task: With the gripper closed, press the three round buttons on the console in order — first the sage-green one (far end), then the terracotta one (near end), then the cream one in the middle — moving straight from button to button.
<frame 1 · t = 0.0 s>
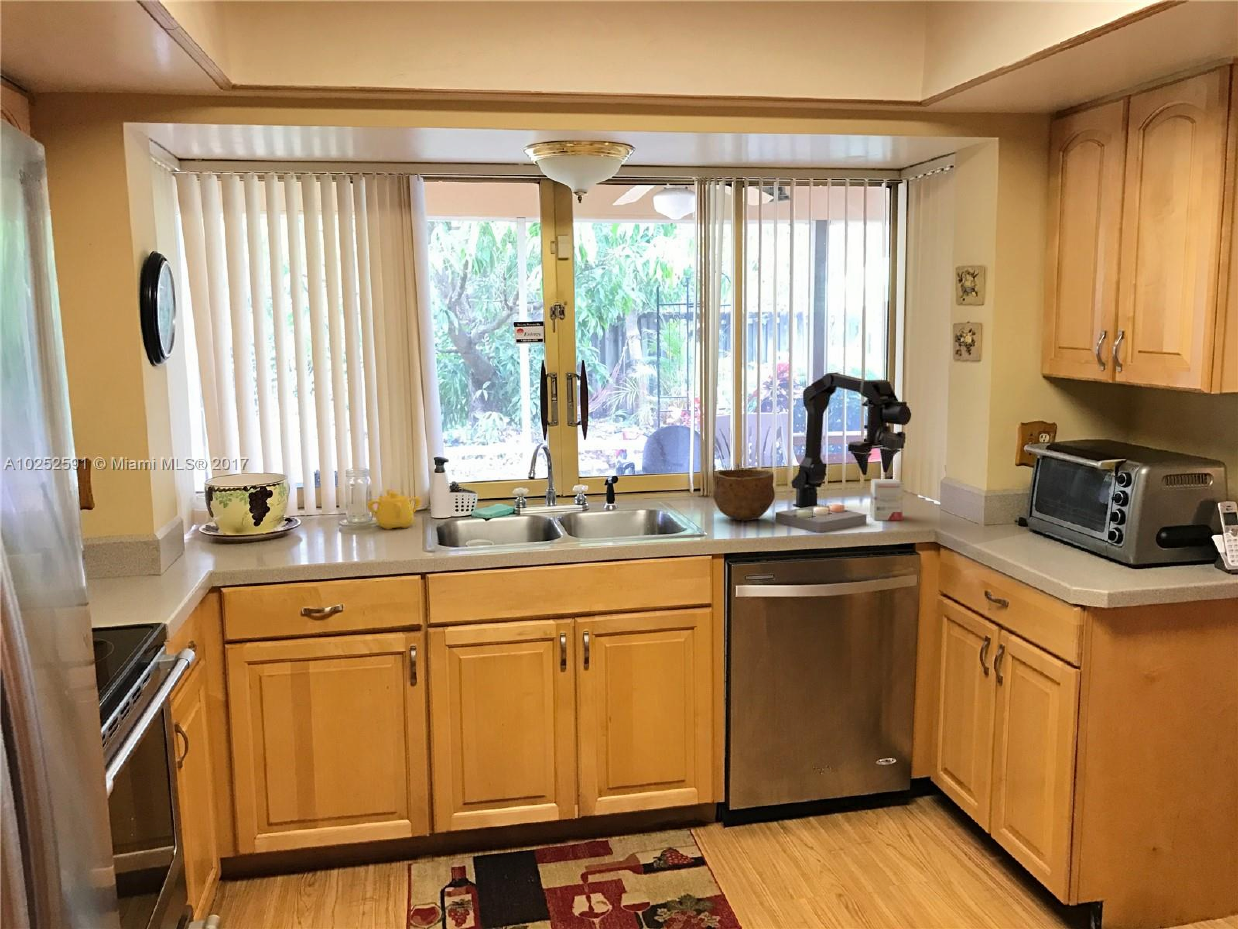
hand: (875, 473, 293), 15 cm above the countertop, fingers open, 9 cm apart
sage button: (804, 516, 289), point 3 cm above the countertop, slide at 0.0 cm
ink box: (885, 518, 300), on the countertop
cream button: (820, 513, 293), point 3 cm above the countertop, slide at 0.0 cm
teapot: (394, 526, 291), on the countertop
bowl: (742, 520, 298), on the countertop
console: (820, 523, 293), on the countertop
terracotta button: (837, 510, 297), point 3 cm above the countertop, slide at 0.0 cm
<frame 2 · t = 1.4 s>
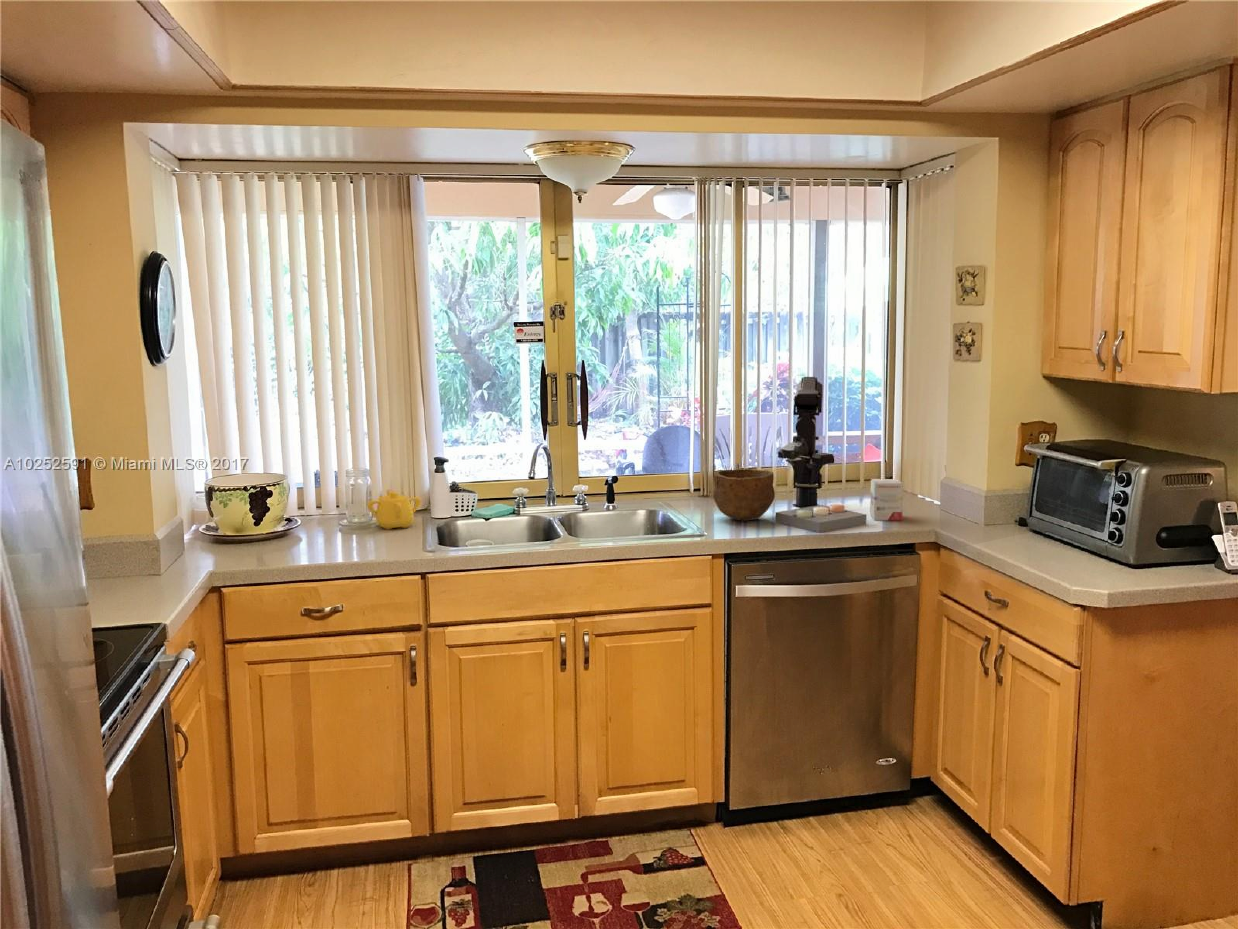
hand: (804, 483, 297), 11 cm above the countertop, fingers open, 5 cm apart
nothing on the countertop moved.
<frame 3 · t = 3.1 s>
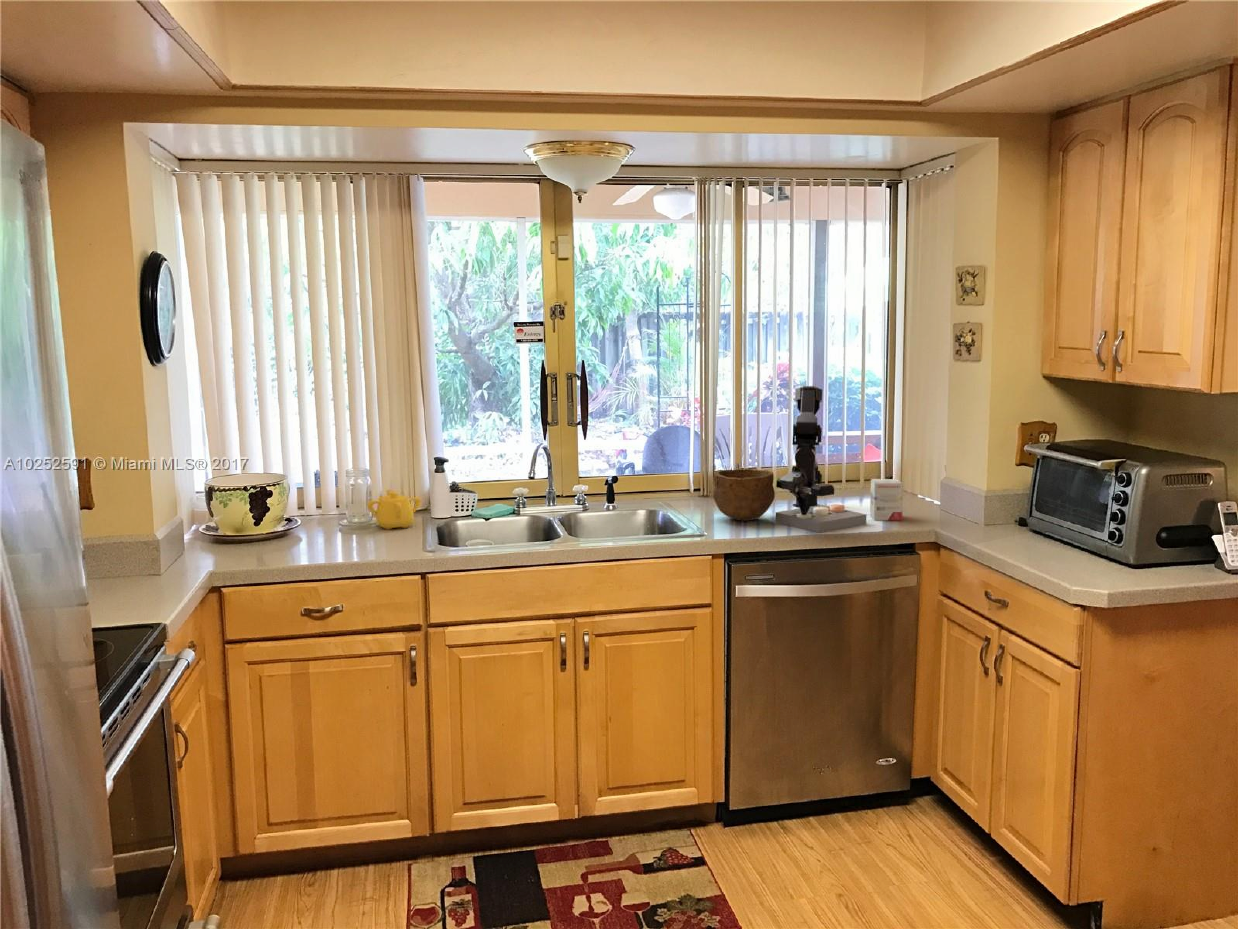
hand: (804, 514, 289), 3 cm above the countertop, fingers closed, pressing on sage button
sage button: (803, 519, 289), point 2 cm above the countertop, slide at 1.1 cm, touching gripper
everything else where it was.
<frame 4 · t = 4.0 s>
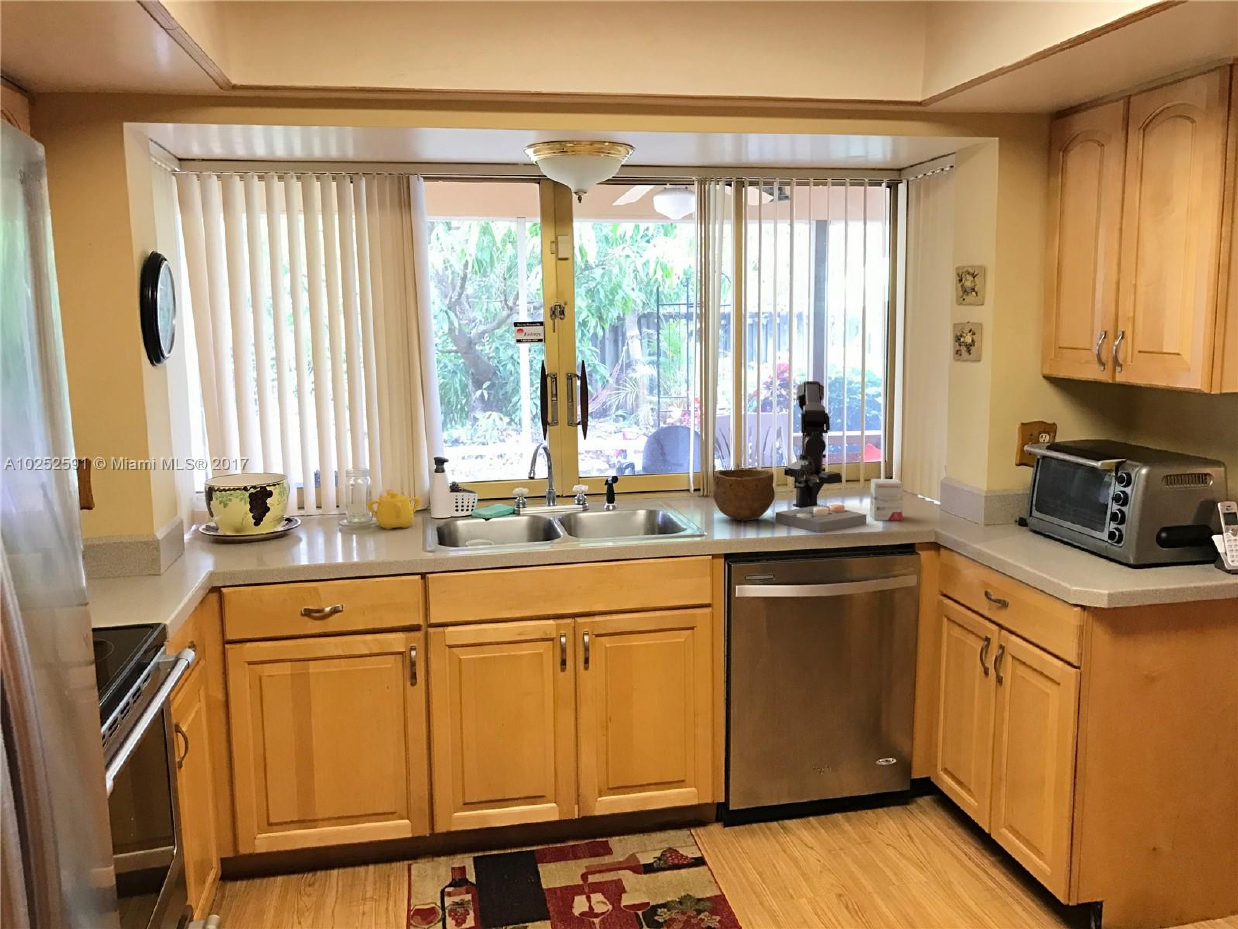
hand: (811, 502, 290), 7 cm above the countertop, fingers closed
sage button: (803, 519, 289), point 2 cm above the countertop, slide at 1.2 cm
everything else where it was.
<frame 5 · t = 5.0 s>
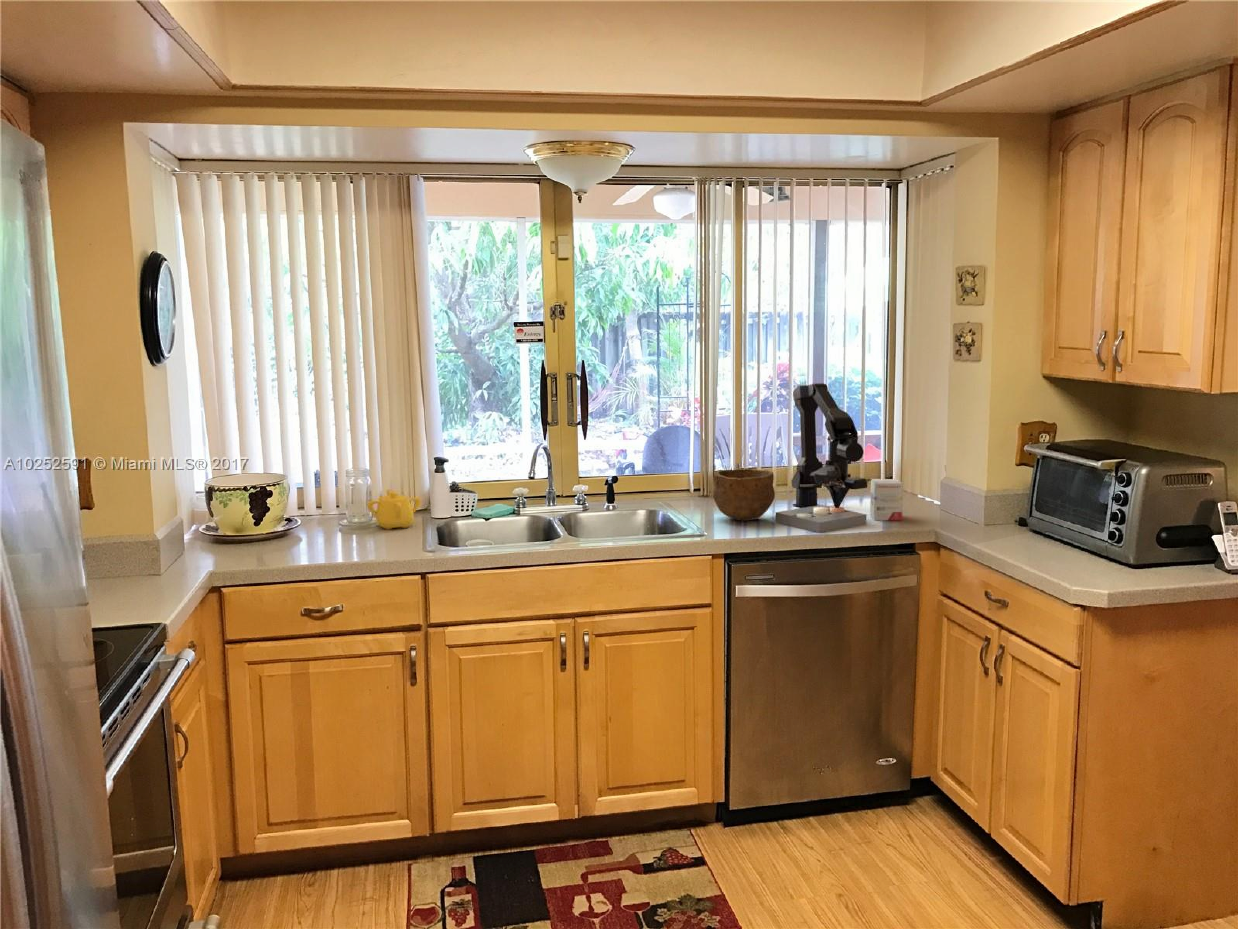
hand: (837, 507, 296), 4 cm above the countertop, fingers closed, pressing on terracotta button
terracotta button: (837, 512, 297), point 2 cm above the countertop, slide at 0.6 cm, touching gripper
everything else where it was.
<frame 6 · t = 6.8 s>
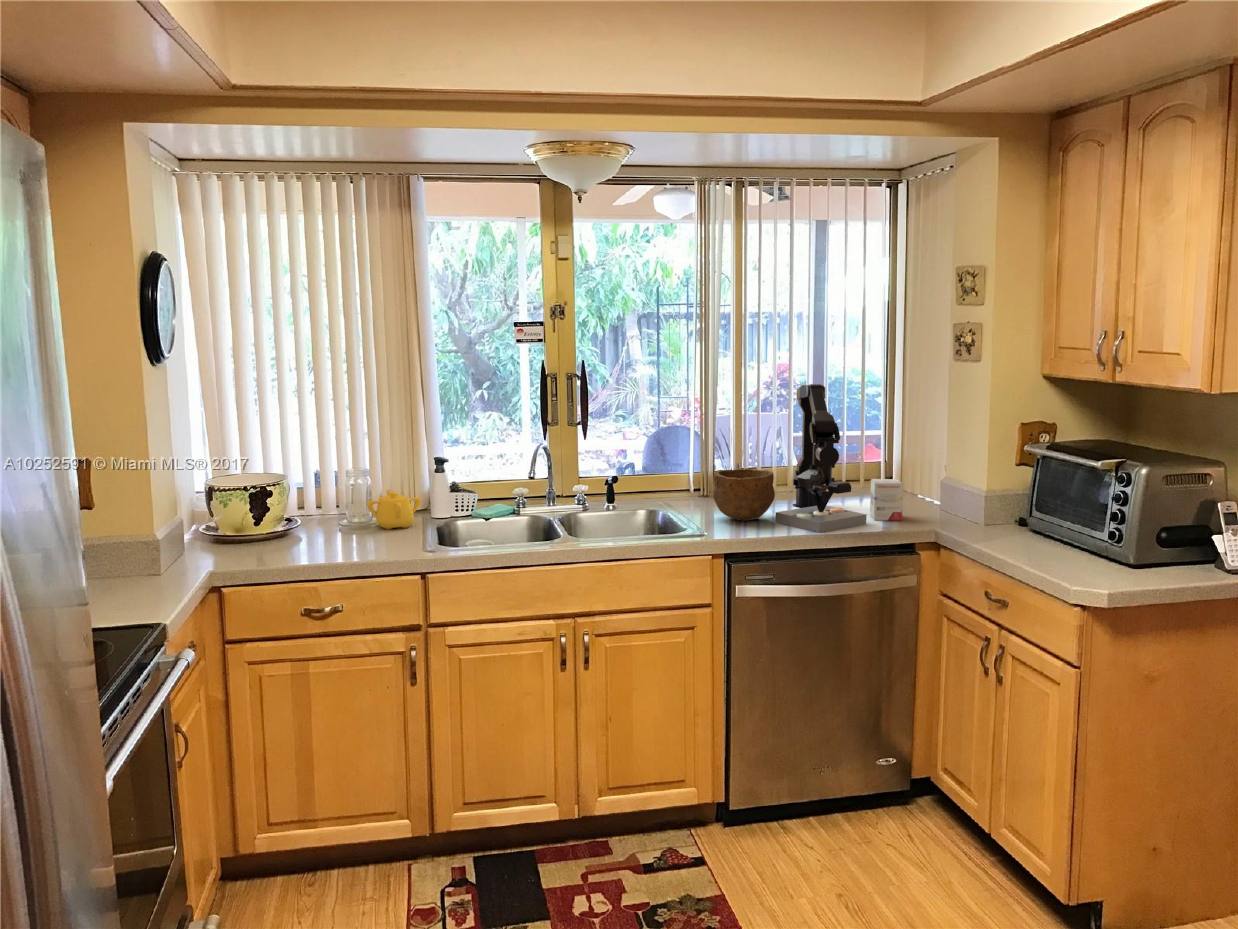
hand: (820, 512, 293), 3 cm above the countertop, fingers closed, pressing on cream button
cream button: (820, 517, 293), point 2 cm above the countertop, slide at 1.1 cm, touching gripper
terracotta button: (837, 514, 297), point 2 cm above the countertop, slide at 1.2 cm
everything else where it was.
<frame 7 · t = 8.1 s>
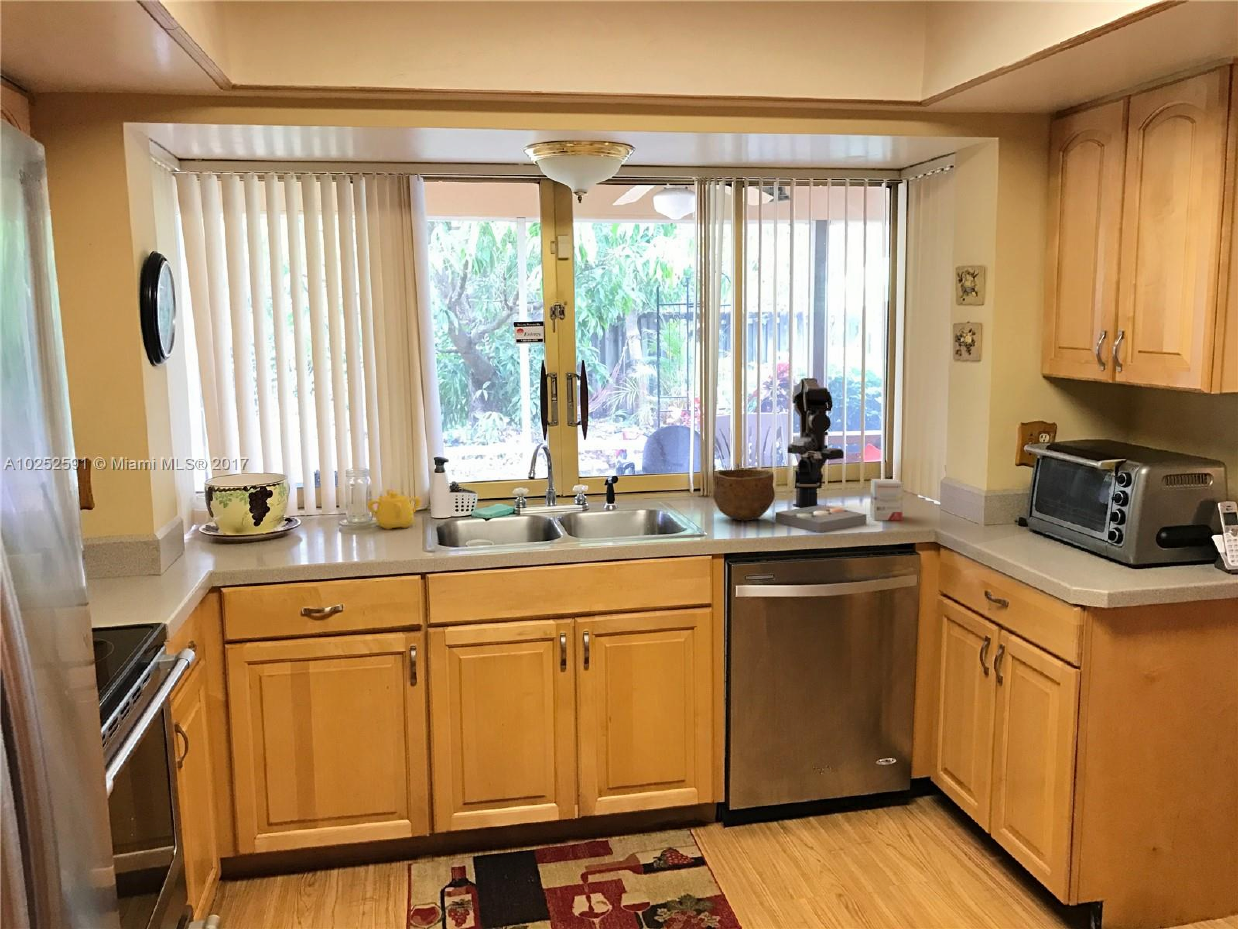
hand: (814, 478, 301), 12 cm above the countertop, fingers closed
cream button: (820, 517, 293), point 2 cm above the countertop, slide at 1.2 cm
everything else where it was.
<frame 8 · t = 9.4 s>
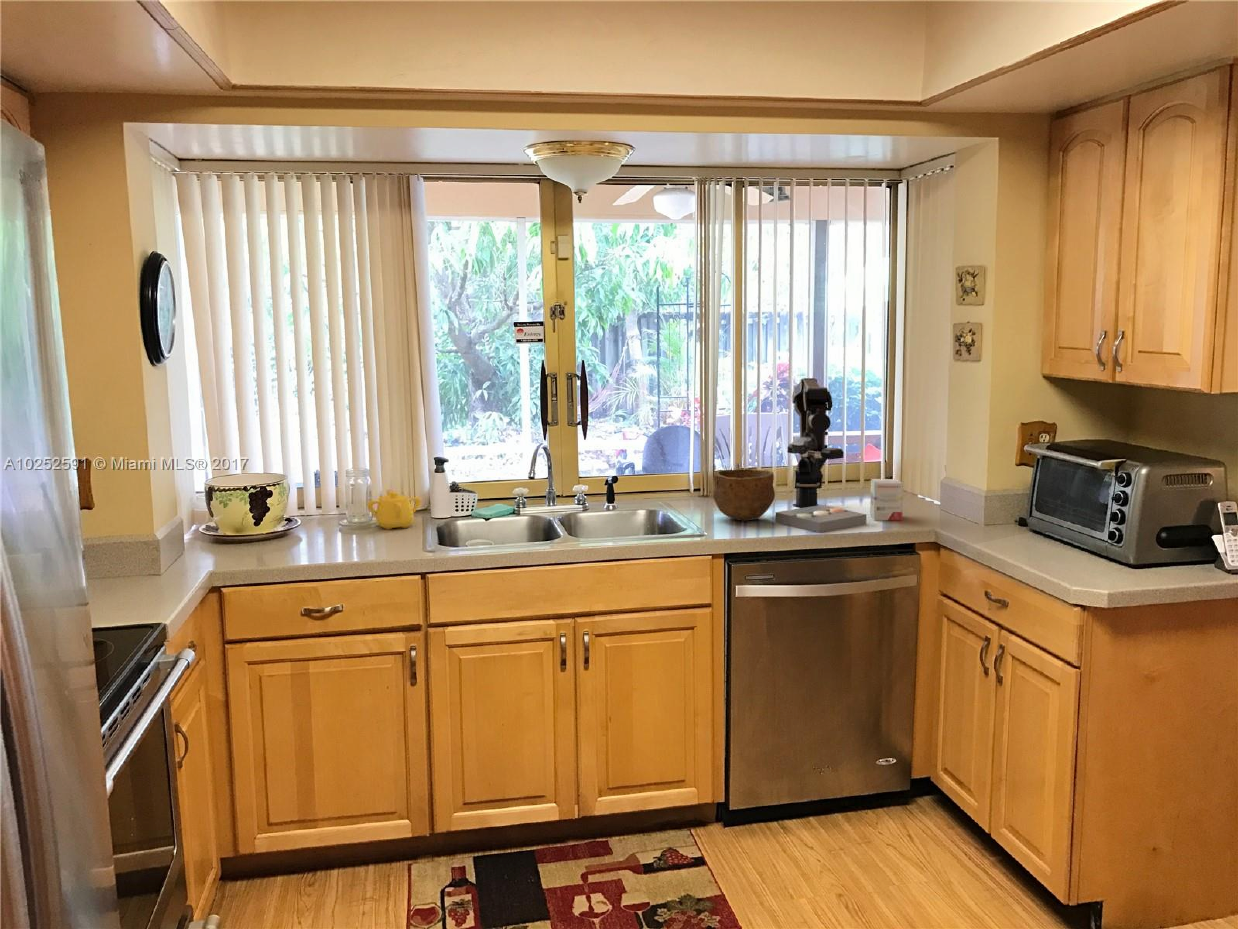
hand: (814, 478, 301), 12 cm above the countertop, fingers closed
nothing on the countertop moved.
at the end: sage button slide at 1.2 cm; terracotta button slide at 1.2 cm; cream button slide at 1.2 cm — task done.
